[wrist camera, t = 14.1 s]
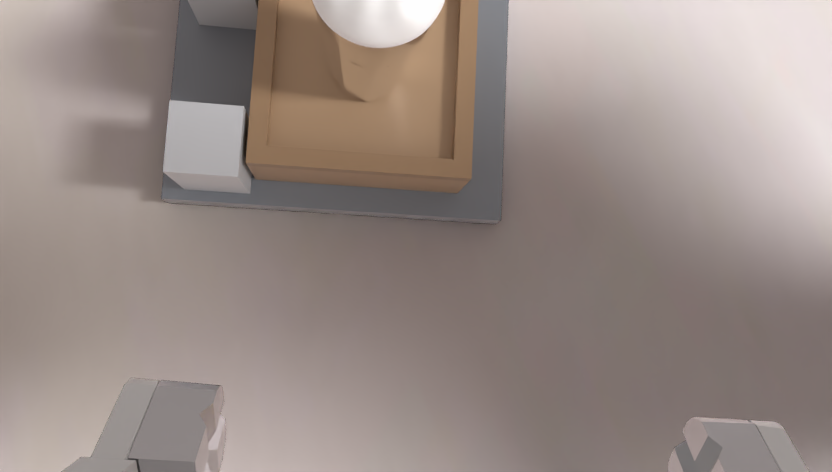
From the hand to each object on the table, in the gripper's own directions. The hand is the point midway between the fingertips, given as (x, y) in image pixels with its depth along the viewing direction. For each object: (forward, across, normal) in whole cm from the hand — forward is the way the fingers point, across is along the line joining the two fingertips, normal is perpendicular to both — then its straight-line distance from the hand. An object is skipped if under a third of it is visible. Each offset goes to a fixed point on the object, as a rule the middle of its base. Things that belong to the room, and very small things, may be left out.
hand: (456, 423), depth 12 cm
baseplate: (+24, +4, +4) cm, 25 cm away
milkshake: (+22, +2, +2) cm, 22 cm away
